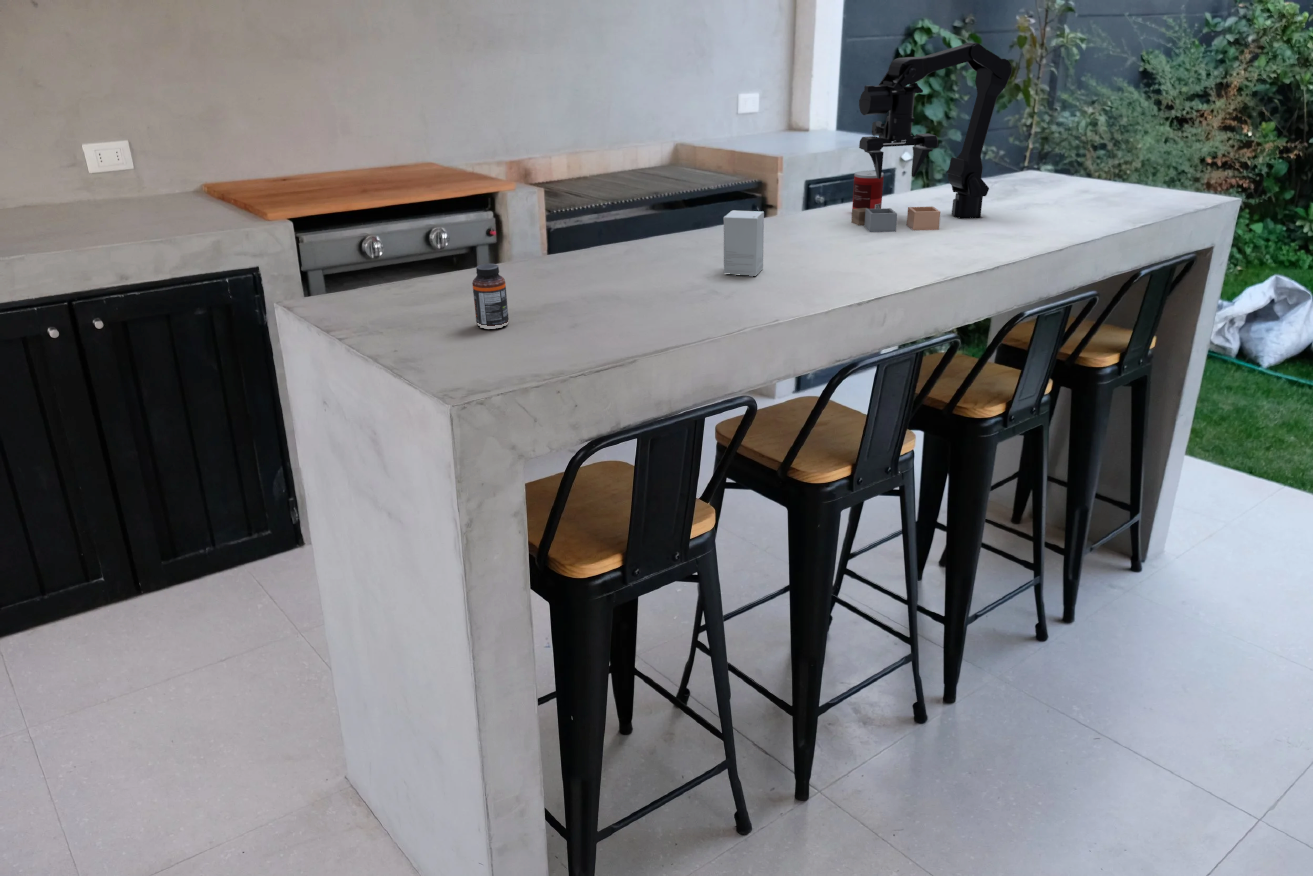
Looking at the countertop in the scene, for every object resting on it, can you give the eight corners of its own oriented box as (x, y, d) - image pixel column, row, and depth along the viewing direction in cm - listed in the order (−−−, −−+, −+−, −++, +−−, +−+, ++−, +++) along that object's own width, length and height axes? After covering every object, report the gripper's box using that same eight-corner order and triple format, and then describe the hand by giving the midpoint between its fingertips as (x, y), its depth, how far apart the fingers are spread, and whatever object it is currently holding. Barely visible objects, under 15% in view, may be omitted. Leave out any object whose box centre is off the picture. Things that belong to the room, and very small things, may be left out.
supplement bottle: (477, 321, 185) (472, 262, 181) (509, 320, 186) (504, 261, 181) (475, 331, 180) (469, 270, 175) (508, 330, 180) (503, 269, 176)
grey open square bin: (889, 228, 251) (890, 208, 249) (895, 233, 245) (897, 213, 243) (864, 228, 251) (865, 208, 249) (869, 234, 245) (871, 214, 243)
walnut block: (865, 223, 256) (866, 207, 255) (872, 226, 253) (873, 210, 251) (851, 224, 255) (852, 208, 254) (858, 227, 252) (859, 211, 250)
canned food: (879, 211, 269) (882, 170, 265) (882, 217, 262) (885, 175, 258) (850, 211, 270) (853, 170, 266) (853, 217, 263) (855, 175, 258)
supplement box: (764, 268, 217) (765, 210, 211) (755, 277, 210) (757, 218, 205) (731, 266, 219) (732, 209, 214) (722, 275, 212) (722, 216, 207)
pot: (931, 226, 252) (933, 206, 250) (938, 231, 246) (940, 211, 244) (906, 226, 252) (908, 207, 250) (912, 232, 246) (914, 212, 244)
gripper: (922, 107, 252) (916, 170, 258) (852, 111, 249) (849, 174, 255) (942, 112, 242) (936, 177, 248) (870, 116, 239) (865, 181, 245)
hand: (896, 177), depth 250 cm, fingers open, 9 cm apart
